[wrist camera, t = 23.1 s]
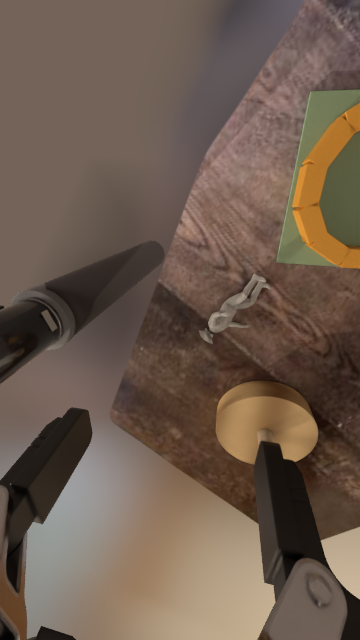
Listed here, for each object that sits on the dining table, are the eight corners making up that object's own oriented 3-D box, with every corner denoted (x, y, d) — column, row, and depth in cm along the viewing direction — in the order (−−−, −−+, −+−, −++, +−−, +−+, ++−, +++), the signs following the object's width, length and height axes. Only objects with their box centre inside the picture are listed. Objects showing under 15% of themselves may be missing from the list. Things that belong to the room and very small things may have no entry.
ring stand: (213, 439, 50) (210, 488, 41) (221, 374, 43) (219, 417, 34) (298, 454, 48) (314, 510, 39) (322, 387, 40) (349, 438, 32)
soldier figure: (278, 294, 36) (232, 357, 38) (253, 281, 39) (211, 340, 41) (262, 273, 30) (208, 349, 32) (234, 259, 33) (185, 329, 35)
